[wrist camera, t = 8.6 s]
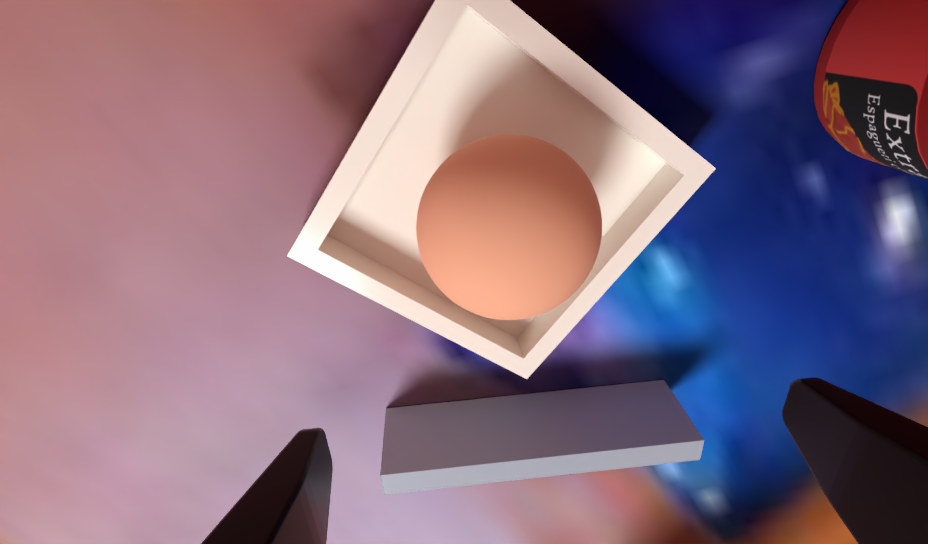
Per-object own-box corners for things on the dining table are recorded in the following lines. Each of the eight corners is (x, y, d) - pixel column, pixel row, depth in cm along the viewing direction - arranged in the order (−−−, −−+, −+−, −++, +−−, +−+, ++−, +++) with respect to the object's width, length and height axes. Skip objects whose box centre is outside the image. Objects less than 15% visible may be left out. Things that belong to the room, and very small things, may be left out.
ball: (602, 175, 19) (677, 238, 14) (509, 292, 21) (543, 386, 16) (474, 83, 17) (504, 113, 12) (385, 221, 19) (375, 301, 14)
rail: (663, 379, 25) (704, 440, 21) (660, 397, 25) (699, 459, 22) (386, 408, 24) (380, 475, 21) (389, 426, 25) (384, 494, 21)
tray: (684, 152, 19) (716, 168, 17) (517, 347, 23) (526, 379, 21) (454, -35, 16) (459, -41, 14) (300, 231, 20) (287, 256, 18)
